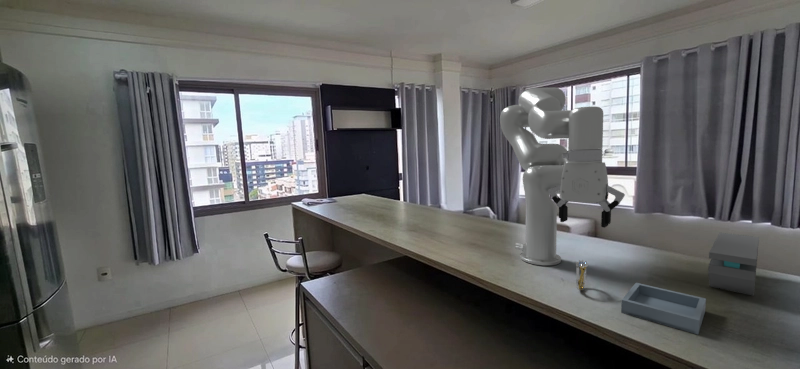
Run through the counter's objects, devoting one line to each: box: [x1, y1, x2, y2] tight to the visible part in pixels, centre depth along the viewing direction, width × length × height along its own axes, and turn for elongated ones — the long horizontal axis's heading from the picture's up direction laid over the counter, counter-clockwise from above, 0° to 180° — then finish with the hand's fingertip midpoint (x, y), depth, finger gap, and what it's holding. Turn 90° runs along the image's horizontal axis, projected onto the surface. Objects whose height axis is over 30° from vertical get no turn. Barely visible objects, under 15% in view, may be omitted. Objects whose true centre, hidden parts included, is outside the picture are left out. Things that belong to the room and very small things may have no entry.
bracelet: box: [574, 259, 589, 291], centre depth 86 cm, size 7×3×8 cm, turn 136°
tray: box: [620, 282, 707, 336], centre depth 74 cm, size 13×13×3 cm
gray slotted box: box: [707, 232, 760, 297], centre depth 86 cm, size 25×8×11 cm, turn 132°
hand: (583, 223), depth 84 cm, fingers open, 9 cm apart
